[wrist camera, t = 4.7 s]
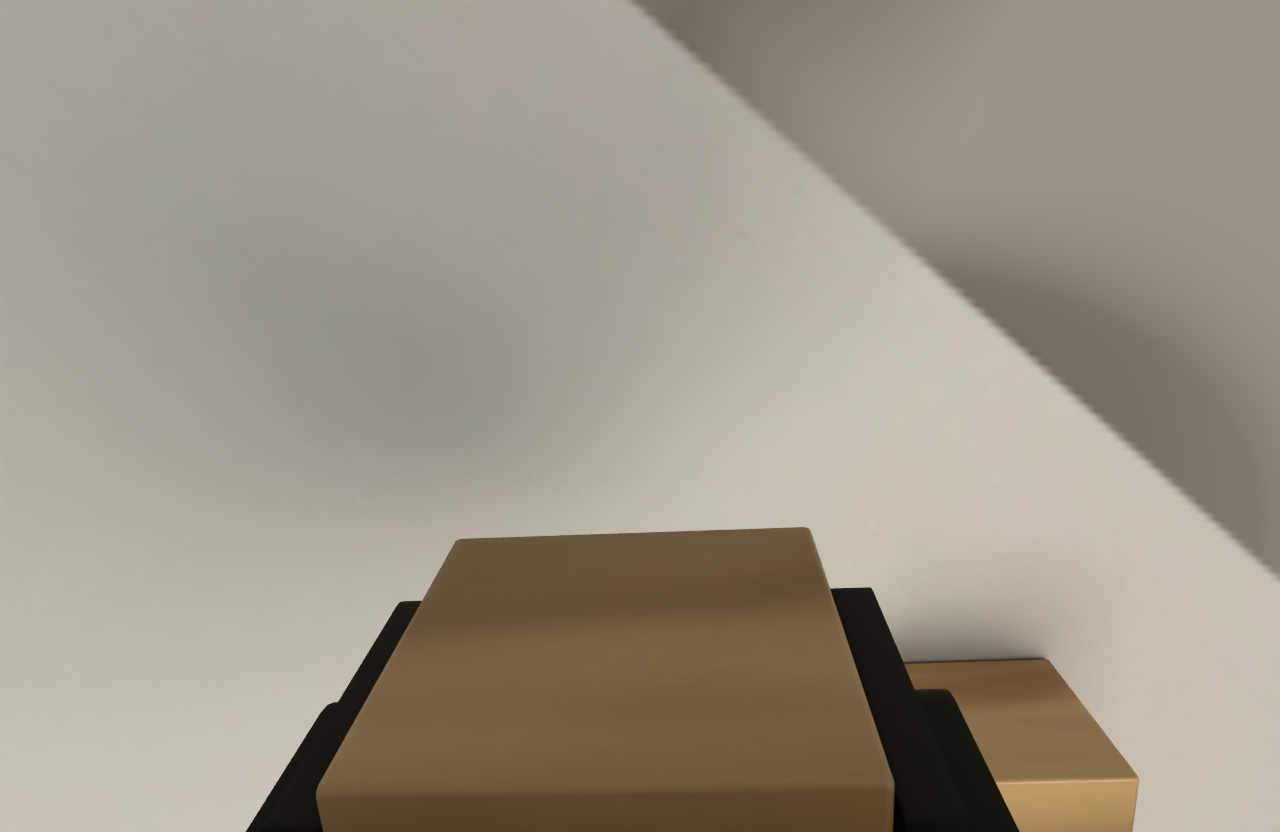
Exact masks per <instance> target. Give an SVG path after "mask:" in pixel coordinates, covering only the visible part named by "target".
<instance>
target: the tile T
mask: <svg viewBox="0 0 1280 832" xmlns="http://www.w3.org/2000/svg"><path fill="white" fill-rule="evenodd" d="M904 665H905V668H906V670H907V672H908V675H909V677H910V679H911V682H912V684H913V686H914V689H947V690H949V691H950V692H951V694H952V695H953V697H954V699H955V700H956V703H957V705H958V707H959V709H960V711H961V713H962V715H963V717H964V719H965V721H966V723H967V725H968V727H969V729H970V731H971V733H972V735H973V737H974V739H975V741H976V743H977V745H978V747H979V750H980V752H981V754H982V756H983V758H984V760H985V762H986V764H987V766H988V768H989V770H990V772H991V774H992V776H993V778H994V780H995V782H996V784H997V786H998V788H999V790H1000V792H1001V795H1002V797H1003V799H1004V801H1005V803H1006V805H1007V807H1008V809H1009V811H1010V813H1011V815H1012V817H1013V819H1014V821H1015V823H1016V825H1017V827H1018V829H1019V831H1020V832H1132V830H1133V822H1134V815H1135V807H1136V799H1137V791H1138V784H1139V778H1138V776H1137V774H1136V773H1135V772H1134V771H1133V769H1132V768H1131V767H1130V765H1129V764H1128V763H1127V761H1126V760H1125V759H1124V757H1123V756H1122V755H1121V754H1120V752H1119V751H1118V750H1117V748H1116V747H1115V746H1114V744H1113V743H1112V742H1111V741H1110V739H1109V738H1108V737H1107V735H1106V734H1105V733H1104V731H1103V730H1102V729H1101V727H1100V726H1099V725H1098V724H1097V722H1096V721H1095V720H1094V718H1093V717H1092V716H1091V714H1090V713H1089V712H1088V711H1087V709H1086V708H1085V707H1084V705H1083V704H1082V703H1081V701H1080V700H1079V699H1078V697H1077V696H1076V695H1075V694H1074V692H1073V691H1072V690H1071V688H1070V687H1069V686H1068V684H1067V683H1066V682H1065V681H1064V679H1063V678H1062V677H1061V675H1060V674H1059V673H1058V671H1057V670H1056V669H1055V667H1054V666H1053V665H1052V664H1051V662H1050V661H1049V660H1047V659H1037V660H1006V661H974V662H942V663H911V664H904Z"/></svg>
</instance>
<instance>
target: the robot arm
mask: <svg viewBox="0 0 1280 832" xmlns="http://www.w3.org/2000/svg"><path fill="white" fill-rule="evenodd" d="M830 590H831V593H832V596H833V599H834V602H835V605H836V608H837V611H838V614H839V617H840V620H841V623H842V626H843V629H844V632H845V635H846V638H847V641H848V644H849V647H850V650H851V653H852V656H853V659H854V662H855V665H856V668H857V671H858V674H859V677H860V680H861V683H862V686H863V689H864V692H865V695H866V698H867V701H868V704H869V707H870V710H871V713H872V716H873V719H874V722H875V725H876V728H877V731H878V734H879V737H880V740H881V743H882V746H883V749H884V752H885V755H886V758H887V761H888V764H889V767H890V770H891V773H892V776H893V779H894V782H895V793H894V819H893V832H1020V831H1019V829H1018V827H1017V825H1016V823H1015V821H1014V819H1013V817H1012V815H1011V813H1010V811H1009V809H1008V807H1007V805H1006V803H1005V801H1004V799H1003V797H1002V795H1001V792H1000V790H999V788H998V786H997V784H996V782H995V780H994V778H993V776H992V774H991V772H990V770H989V768H988V766H987V764H986V762H985V760H984V758H983V756H982V754H981V752H980V750H979V747H978V745H977V743H976V741H975V739H974V737H973V735H972V733H971V731H970V729H969V727H968V725H967V723H966V721H965V719H964V717H963V715H962V713H961V711H960V709H959V707H958V705H957V703H956V700H955V699H954V697H953V695H952V694H951V692H950V691H949V690H947V689H914V686H913V684H912V682H911V679H910V677H909V675H908V672H907V670H906V668H905V665H904V663H903V660H902V658H901V656H900V653H899V651H898V649H897V646H896V644H895V642H894V639H893V637H892V635H891V632H890V630H889V627H888V625H887V623H886V620H885V618H884V616H883V613H882V611H881V609H880V606H879V604H878V602H877V599H876V597H875V595H874V592H873V590H872V589H871V588H835V589H830ZM421 602H422V601H403V602H400V603H399V604H398V605H397V606H396V608H395V610H394V611H393V613H392V615H391V616H390V618H389V620H388V621H387V623H386V624H385V626H384V628H383V629H382V631H381V633H380V634H379V636H378V638H377V639H376V641H375V642H374V644H373V646H372V647H371V649H370V651H369V652H368V654H367V656H366V657H365V659H364V660H363V662H362V664H361V665H360V667H359V669H358V670H357V672H356V674H355V675H354V677H353V678H352V680H351V682H350V683H349V685H348V687H347V688H346V690H345V692H344V693H343V695H342V696H341V698H340V700H339V701H338V702H334V703H331V704H329V705H327V706H326V707H325V708H324V710H323V711H322V712H321V713H320V715H319V716H318V718H317V720H316V721H315V723H314V724H313V726H312V728H311V729H310V731H309V732H308V734H307V735H306V737H305V739H304V740H303V742H302V743H301V745H300V747H299V748H298V750H297V751H296V753H295V755H294V756H293V758H292V759H291V761H290V762H289V764H288V766H287V767H286V769H285V770H284V772H283V774H282V775H281V777H280V778H279V780H278V782H277V783H276V785H275V786H274V788H273V789H272V791H271V793H270V794H269V796H268V797H267V799H266V801H265V802H264V804H263V805H262V807H261V808H260V810H259V812H258V813H257V815H256V816H255V818H254V820H253V821H252V823H251V824H250V826H249V828H248V829H247V831H246V832H323V828H322V824H321V819H320V814H319V810H318V805H317V800H316V791H317V788H318V785H319V783H320V781H321V780H322V778H323V776H324V774H325V773H326V771H327V769H328V767H329V765H330V764H331V762H332V760H333V758H334V757H335V755H336V753H337V751H338V749H339V748H340V746H341V744H342V742H343V741H344V739H345V737H346V735H347V733H348V732H349V730H350V728H351V726H352V725H353V723H354V721H355V719H356V717H357V716H358V714H359V712H360V710H361V709H362V707H363V705H364V703H365V701H366V700H367V698H368V696H369V694H370V693H371V691H372V689H373V687H374V685H375V684H376V682H377V680H378V678H379V677H380V675H381V673H382V671H383V669H384V668H385V666H386V664H387V662H388V661H389V659H390V657H391V655H392V654H393V652H394V650H395V648H396V646H397V645H398V643H399V641H400V639H401V638H402V636H403V634H404V632H405V630H406V629H407V627H408V625H409V623H410V622H411V620H412V618H413V616H414V614H415V613H416V611H417V609H418V607H419V606H420V604H421Z"/></svg>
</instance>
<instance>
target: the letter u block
mask: <svg viewBox="0 0 1280 832" xmlns="http://www.w3.org/2000/svg"><path fill="white" fill-rule="evenodd" d="M894 793H895V782H894V779H893V776H892V773H891V770H890V767H889V764H888V761H887V758H886V755H885V752H884V749H883V746H882V743H881V740H880V737H879V734H878V731H877V728H876V725H875V722H874V719H873V716H872V713H871V710H870V707H869V704H868V701H867V698H866V695H865V692H864V689H863V686H862V683H861V680H860V677H859V674H858V671H857V668H856V665H855V662H854V659H853V656H852V653H851V650H850V647H849V644H848V641H847V638H846V635H845V632H844V629H843V626H842V623H841V620H840V617H839V614H838V611H837V608H836V605H835V602H834V599H833V596H832V593H831V590H830V587H829V584H828V581H827V578H826V575H825V572H824V569H823V566H822V563H821V560H820V557H819V554H818V551H817V548H816V545H815V542H814V539H813V536H812V533H811V531H810V529H808V528H805V527H794V528H765V529H736V530H707V531H678V532H648V533H619V534H590V535H561V536H532V537H502V538H473V539H460V540H457V541H456V542H455V543H454V545H453V547H452V549H451V550H450V552H449V554H448V556H447V558H446V559H445V561H444V563H443V565H442V566H441V568H440V570H439V572H438V574H437V575H436V577H435V579H434V581H433V582H432V584H431V586H430V588H429V590H428V591H427V593H426V595H425V597H424V598H423V600H422V602H421V604H420V606H419V607H418V609H417V611H416V613H415V614H414V616H413V618H412V620H411V622H410V623H409V625H408V627H407V629H406V630H405V632H404V634H403V636H402V638H401V639H400V641H399V643H398V645H397V646H396V648H395V650H394V652H393V654H392V655H391V657H390V659H389V661H388V662H387V664H386V666H385V668H384V669H383V671H382V673H381V675H380V677H379V678H378V680H377V682H376V684H375V685H374V687H373V689H372V691H371V693H370V694H369V696H368V698H367V700H366V701H365V703H364V705H363V707H362V709H361V710H360V712H359V714H358V716H357V717H356V719H355V721H354V723H353V725H352V726H351V728H350V730H349V732H348V733H347V735H346V737H345V739H344V741H343V742H342V744H341V746H340V748H339V749H338V751H337V753H336V755H335V757H334V758H333V760H332V762H331V764H330V765H329V767H328V769H327V771H326V773H325V774H324V776H323V778H322V780H321V781H320V783H319V785H318V788H317V791H316V800H317V805H318V810H319V814H320V819H321V824H322V828H323V832H893V819H894Z"/></svg>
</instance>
